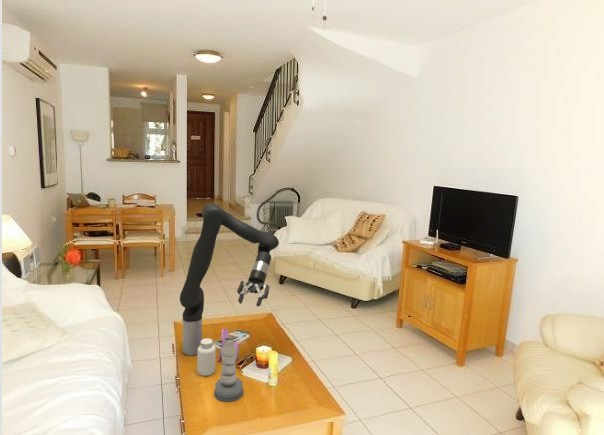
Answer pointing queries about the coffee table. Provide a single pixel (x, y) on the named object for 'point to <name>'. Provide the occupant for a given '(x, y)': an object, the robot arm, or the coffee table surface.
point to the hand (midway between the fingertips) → (248, 304)
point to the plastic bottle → (228, 362)
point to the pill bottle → (206, 357)
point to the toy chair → (224, 335)
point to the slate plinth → (228, 391)
